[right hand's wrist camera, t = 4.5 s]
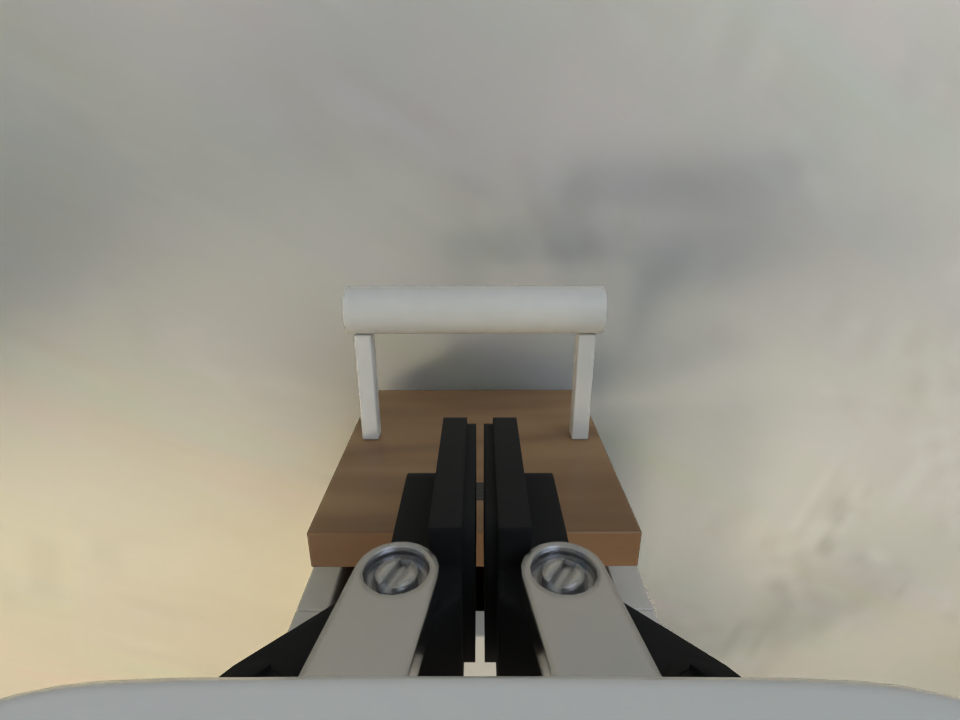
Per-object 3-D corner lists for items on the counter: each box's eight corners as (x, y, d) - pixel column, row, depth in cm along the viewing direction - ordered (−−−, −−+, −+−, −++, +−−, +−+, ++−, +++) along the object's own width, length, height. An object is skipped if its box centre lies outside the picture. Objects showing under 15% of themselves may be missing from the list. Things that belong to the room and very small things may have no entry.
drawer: (362, 263, 22) (278, 337, 13) (588, 263, 22) (667, 337, 13) (392, 660, 29) (354, 885, 20) (560, 659, 29) (597, 884, 20)
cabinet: (366, 433, 26) (284, 637, 15) (585, 432, 26) (664, 636, 15) (388, 695, 32) (341, 978, 21) (564, 695, 32) (611, 977, 21)
